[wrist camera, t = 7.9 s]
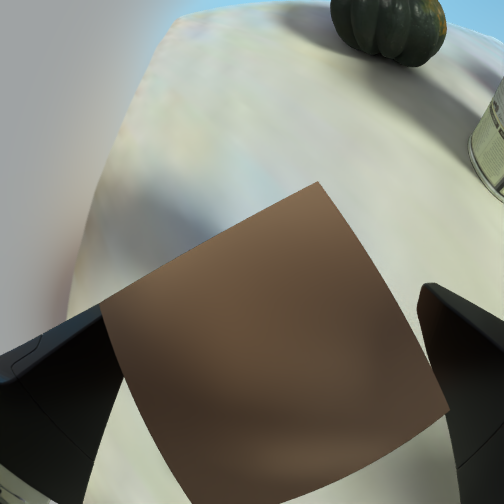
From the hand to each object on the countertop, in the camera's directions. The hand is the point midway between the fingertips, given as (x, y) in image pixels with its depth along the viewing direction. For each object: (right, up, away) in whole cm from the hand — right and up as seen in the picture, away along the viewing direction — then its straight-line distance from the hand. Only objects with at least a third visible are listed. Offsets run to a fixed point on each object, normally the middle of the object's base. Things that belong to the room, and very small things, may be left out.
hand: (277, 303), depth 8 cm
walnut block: (+1, -4, +8) cm, 9 cm away
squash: (+17, +29, +21) cm, 39 cm away
